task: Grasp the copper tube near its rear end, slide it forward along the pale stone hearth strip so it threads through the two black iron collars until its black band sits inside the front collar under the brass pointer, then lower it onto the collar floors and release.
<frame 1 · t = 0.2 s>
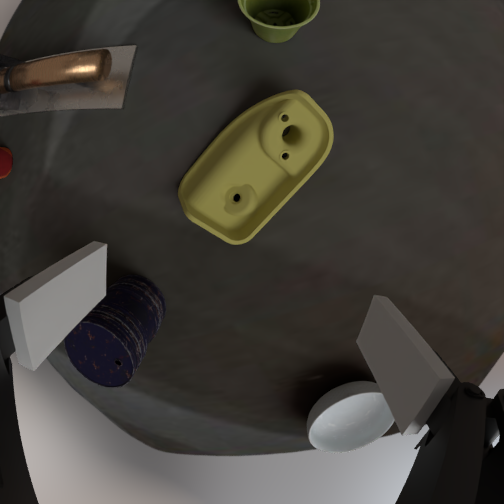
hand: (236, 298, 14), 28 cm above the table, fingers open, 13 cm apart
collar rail: (37, 85, 34), on the table
plant pot: (274, 27, 33), on the table
storage jar: (137, 302, 45), on the table
plastic component: (257, 166, 39), on the table
paper cup: (4, 162, 38), on the table
cereal bowl: (345, 400, 50), on the table
copper tube: (55, 74, 30), point 5 cm above the table, touching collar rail
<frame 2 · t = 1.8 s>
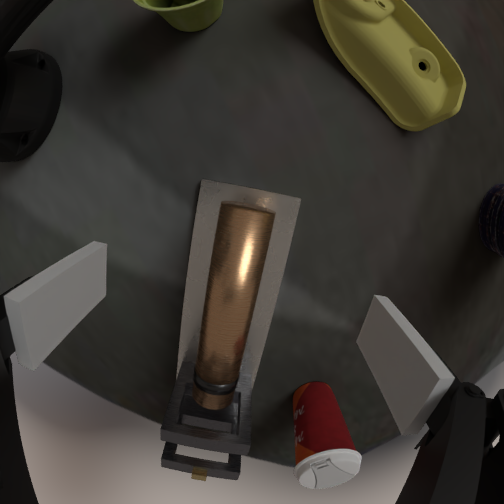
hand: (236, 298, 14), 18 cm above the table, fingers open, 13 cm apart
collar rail: (221, 345, 35), on the table
plant pot: (196, 11, 24), on the table
storage jar: (499, 217, 30), on the table
plastic component: (380, 44, 25), on the table
paper cup: (312, 394, 38), on the table
copper tube: (228, 306, 28), point 5 cm above the table, touching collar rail
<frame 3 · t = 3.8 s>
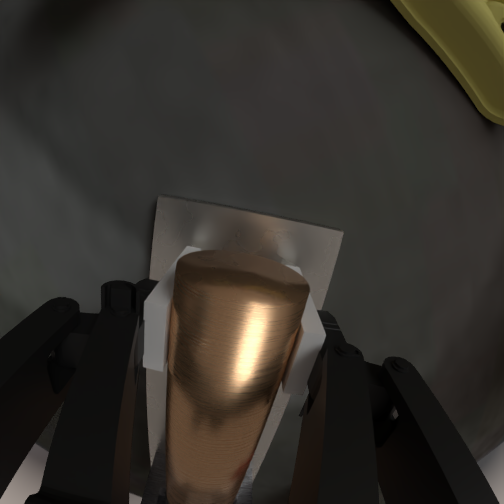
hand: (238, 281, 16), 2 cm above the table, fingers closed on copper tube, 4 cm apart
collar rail: (208, 438, 21), on the table
copper tube: (213, 421, 15), point 5 cm above the table, touching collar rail, gripper
when the fingers open (2 cm above the table, at t = 8.1 s): copper tube stays where it is, resting on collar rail.
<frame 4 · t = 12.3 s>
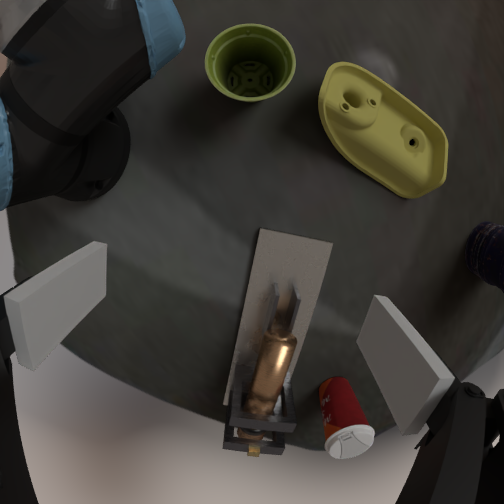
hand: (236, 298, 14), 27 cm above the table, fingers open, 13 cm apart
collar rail: (266, 351, 45), on the table
plant pot: (251, 81, 34), on the table
storage jar: (482, 248, 40), on the table
plastic component: (376, 129, 36), on the table
paper cup: (333, 387, 48), on the table
copper tube: (263, 383, 42), point 5 cm above the table, touching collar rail
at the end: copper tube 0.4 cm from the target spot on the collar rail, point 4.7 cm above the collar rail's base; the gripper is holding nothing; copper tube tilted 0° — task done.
